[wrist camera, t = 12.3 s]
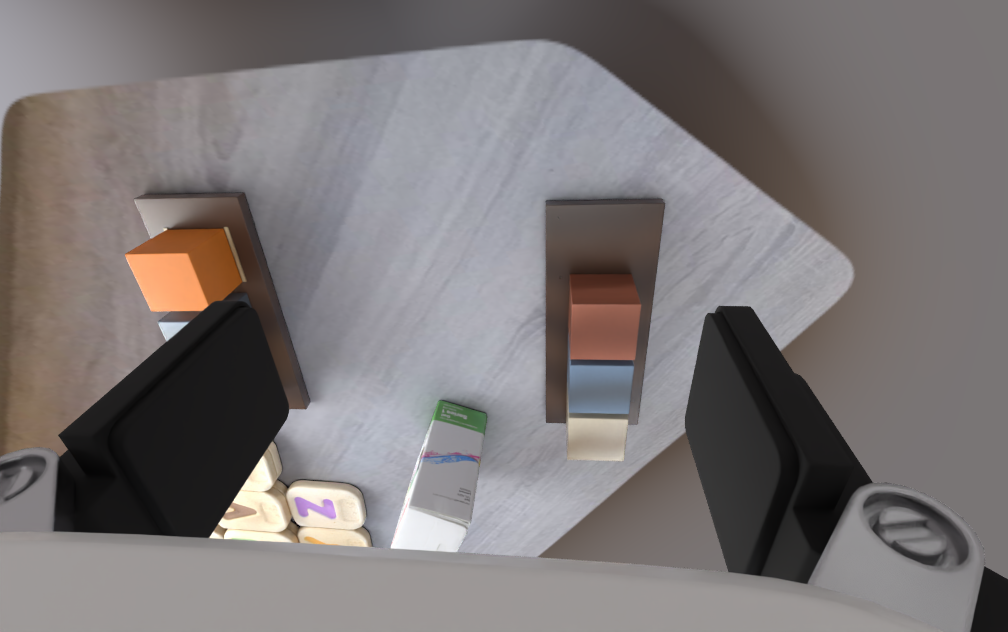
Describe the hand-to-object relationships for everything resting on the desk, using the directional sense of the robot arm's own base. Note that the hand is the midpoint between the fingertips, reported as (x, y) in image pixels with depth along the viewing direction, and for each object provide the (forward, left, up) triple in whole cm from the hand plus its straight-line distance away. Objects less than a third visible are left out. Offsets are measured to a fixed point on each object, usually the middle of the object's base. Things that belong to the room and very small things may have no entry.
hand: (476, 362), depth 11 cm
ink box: (+28, -8, -26) cm, 39 cm away
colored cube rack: (+15, +5, -26) cm, 30 cm away
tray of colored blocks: (+14, -25, -26) cm, 39 cm away
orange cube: (+9, -25, -25) cm, 36 cm away
